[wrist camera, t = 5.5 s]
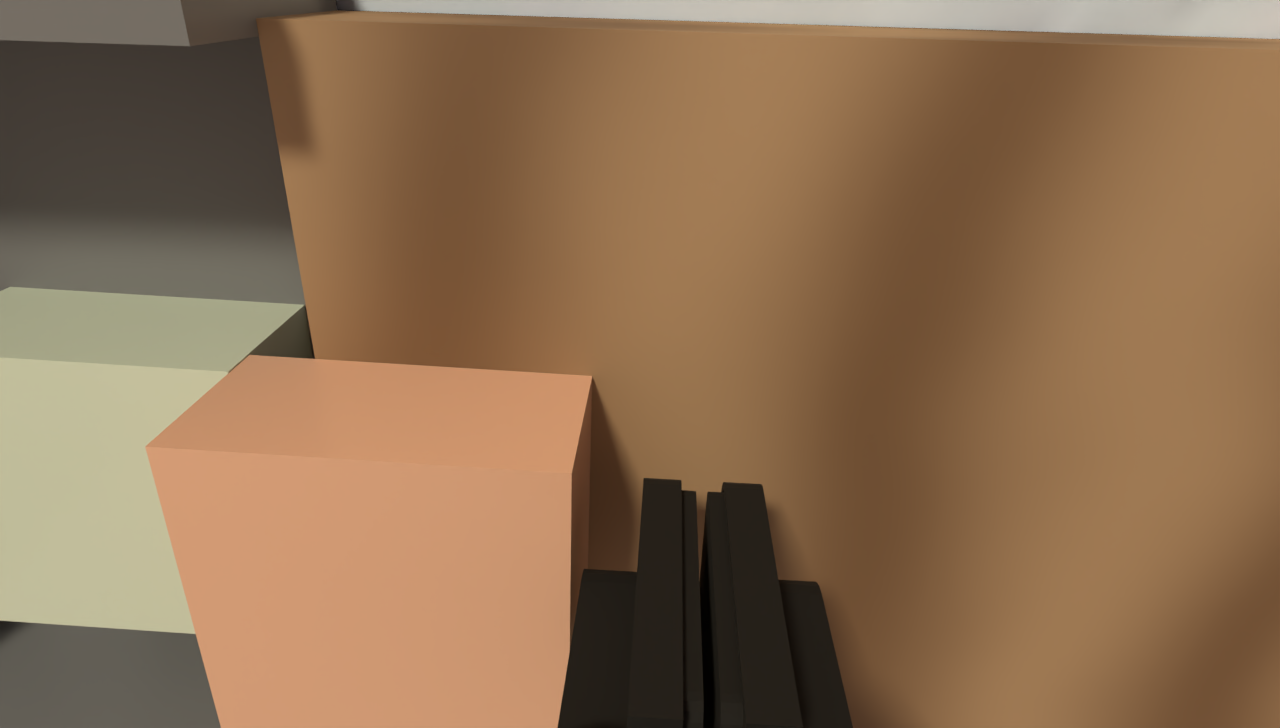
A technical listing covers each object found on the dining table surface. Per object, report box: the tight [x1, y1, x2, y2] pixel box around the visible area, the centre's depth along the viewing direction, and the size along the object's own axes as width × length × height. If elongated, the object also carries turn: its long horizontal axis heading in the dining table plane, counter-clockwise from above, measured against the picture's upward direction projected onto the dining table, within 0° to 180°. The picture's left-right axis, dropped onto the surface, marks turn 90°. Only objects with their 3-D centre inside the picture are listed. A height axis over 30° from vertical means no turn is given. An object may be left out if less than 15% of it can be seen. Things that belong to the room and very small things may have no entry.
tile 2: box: [145, 355, 592, 728], centre depth 11 cm, size 5×5×2 cm
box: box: [0, 0, 337, 728], centre depth 13 cm, size 10×14×4 cm
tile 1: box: [0, 287, 313, 634], centre depth 13 cm, size 5×5×2 cm
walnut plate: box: [256, 10, 1280, 728], centre depth 13 cm, size 18×14×2 cm
